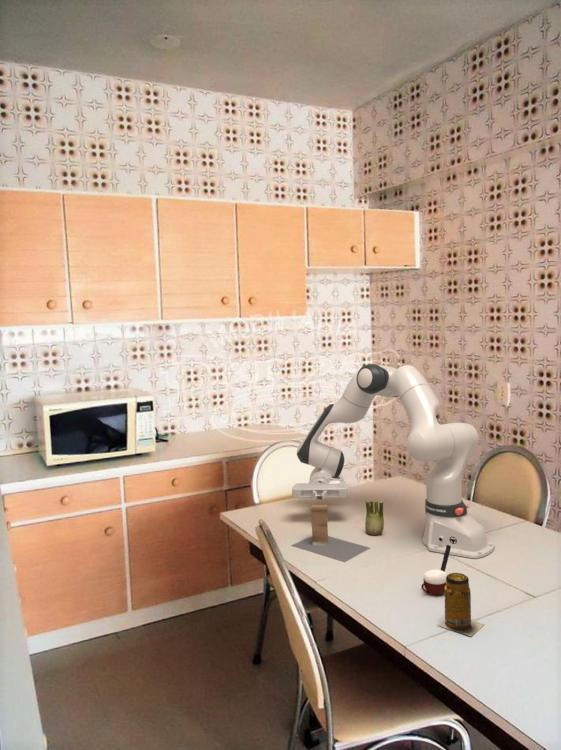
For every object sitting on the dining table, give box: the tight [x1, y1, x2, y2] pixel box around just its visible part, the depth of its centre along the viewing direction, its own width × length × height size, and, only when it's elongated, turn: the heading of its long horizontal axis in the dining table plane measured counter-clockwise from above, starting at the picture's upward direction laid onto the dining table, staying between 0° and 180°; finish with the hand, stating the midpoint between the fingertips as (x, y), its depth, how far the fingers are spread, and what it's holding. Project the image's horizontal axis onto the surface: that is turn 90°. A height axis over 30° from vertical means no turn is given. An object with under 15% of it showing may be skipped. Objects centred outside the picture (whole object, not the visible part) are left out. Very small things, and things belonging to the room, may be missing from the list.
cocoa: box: [421, 545, 451, 596], centre depth 162 cm, size 10×6×12 cm, turn 93°
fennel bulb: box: [364, 500, 385, 537], centre depth 206 cm, size 6×5×12 cm
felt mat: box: [291, 535, 371, 563], centre depth 197 cm, size 22×14×1 cm, turn 47°
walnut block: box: [310, 504, 329, 545], centre depth 200 cm, size 5×5×12 cm
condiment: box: [437, 572, 485, 637], centre depth 145 cm, size 7×8×12 cm
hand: (319, 497), depth 212 cm, fingers closed
